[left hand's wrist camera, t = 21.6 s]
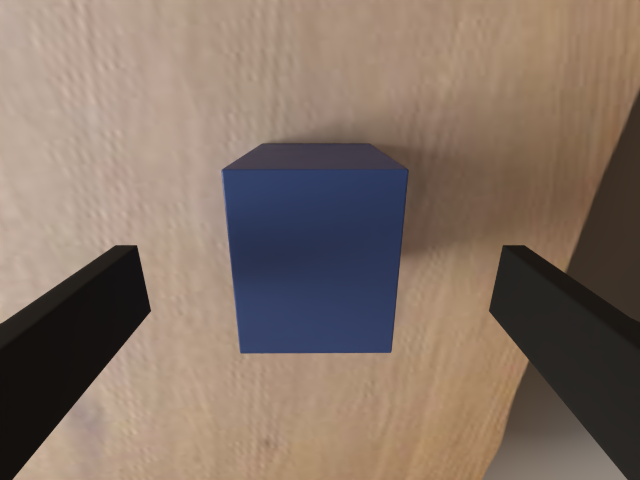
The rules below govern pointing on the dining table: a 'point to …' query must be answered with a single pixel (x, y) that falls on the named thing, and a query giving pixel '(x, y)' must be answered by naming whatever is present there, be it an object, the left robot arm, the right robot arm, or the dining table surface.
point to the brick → (315, 247)
